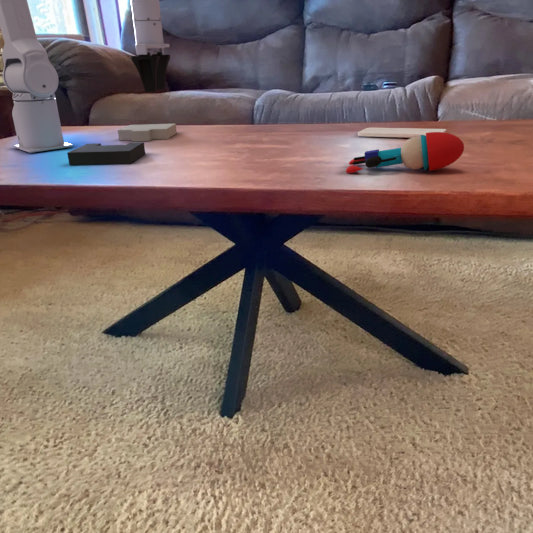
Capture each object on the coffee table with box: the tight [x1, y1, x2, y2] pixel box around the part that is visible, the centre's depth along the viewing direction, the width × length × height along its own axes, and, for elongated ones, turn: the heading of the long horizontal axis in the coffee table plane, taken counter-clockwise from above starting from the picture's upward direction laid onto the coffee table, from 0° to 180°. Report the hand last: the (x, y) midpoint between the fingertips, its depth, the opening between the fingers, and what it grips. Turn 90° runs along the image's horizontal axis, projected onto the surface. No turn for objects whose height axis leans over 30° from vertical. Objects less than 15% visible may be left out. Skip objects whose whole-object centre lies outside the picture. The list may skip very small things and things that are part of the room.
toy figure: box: [345, 132, 465, 174], centre depth 68 cm, size 8×5×15 cm
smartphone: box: [357, 127, 447, 138], centre depth 95 cm, size 7×1×15 cm
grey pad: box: [117, 123, 178, 143], centre depth 104 cm, size 10×10×2 cm
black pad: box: [66, 141, 146, 166], centre depth 83 cm, size 8×10×2 cm
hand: (155, 90), depth 111 cm, fingers open, 7 cm apart
